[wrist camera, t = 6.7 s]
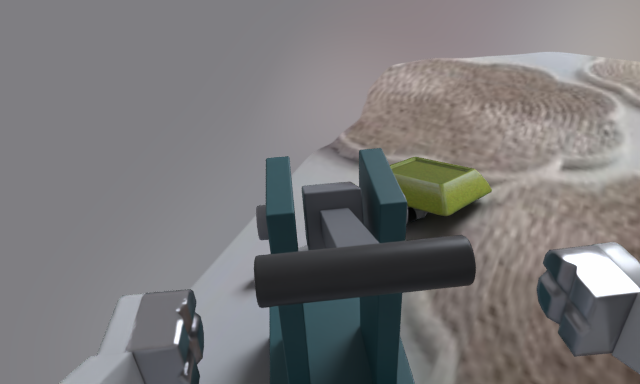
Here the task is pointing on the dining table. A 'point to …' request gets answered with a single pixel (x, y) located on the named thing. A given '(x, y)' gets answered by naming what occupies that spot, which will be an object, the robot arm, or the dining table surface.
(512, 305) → the dining table surface
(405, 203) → the teal axle stand
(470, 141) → the dining table surface
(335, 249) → the lever
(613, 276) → the robot arm
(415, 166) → the saucer
